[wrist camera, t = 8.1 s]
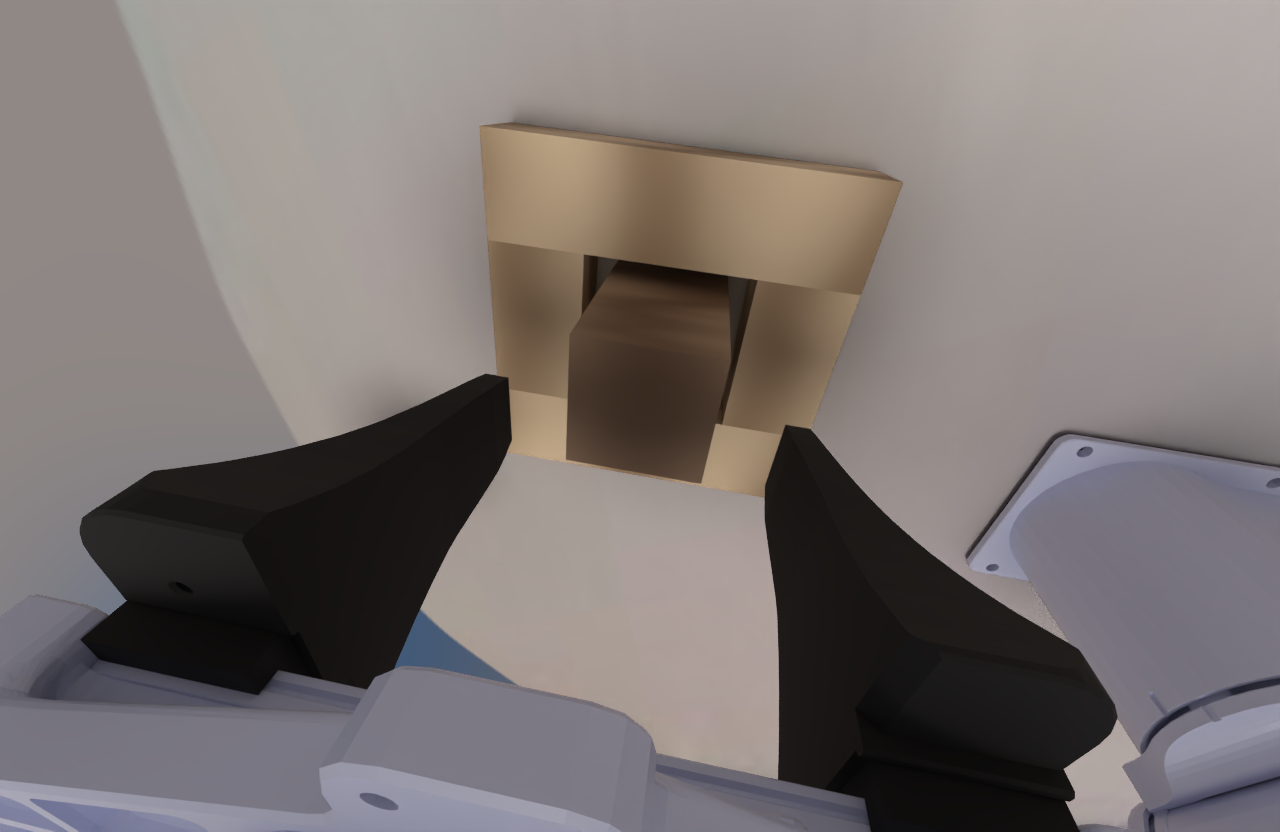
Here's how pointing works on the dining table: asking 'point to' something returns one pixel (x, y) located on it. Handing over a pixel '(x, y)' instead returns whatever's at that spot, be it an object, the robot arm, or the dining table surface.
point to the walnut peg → (649, 371)
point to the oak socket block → (680, 238)
